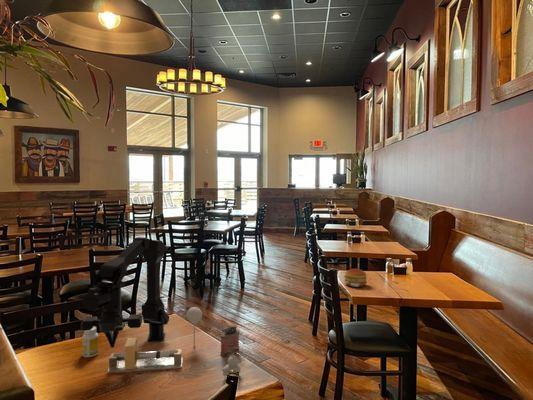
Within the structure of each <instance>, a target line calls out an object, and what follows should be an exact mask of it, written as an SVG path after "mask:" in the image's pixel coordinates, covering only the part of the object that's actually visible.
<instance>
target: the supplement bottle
mask: <svg viewBox="0 0 533 400" xmlns="http://www.w3.org/2000/svg"><path fill="white" fill-rule="evenodd" d="M97 331H98V330H97V326H93V328H92V329H91V330H85V331H83V332H84V334H83V335H82V337H81V338H82V339H81V341H82V343H81V345H82V349H81V350H82V351H81V352H82V356H83V357H84V358H92V357H95V356H97V355H98V354H99V333H98V332H97Z"/></svg>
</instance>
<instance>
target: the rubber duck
mask: <svg viewBox="0 0 533 400" xmlns="http://www.w3.org/2000/svg"><path fill="white" fill-rule="evenodd" d="M238 363H239V360H238V358H237V356H235V354H234V353H233V354H231V355H230V356H228V359H227V364H226V365H225V366H224V367H222V369H221V370H222V376H224V377H228V376H227V372H228V371H229V370H233V371H239V372H240V373H241V366H240V365H239V364H238Z"/></svg>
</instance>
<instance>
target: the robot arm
mask: <svg viewBox="0 0 533 400" xmlns="http://www.w3.org/2000/svg"><path fill="white" fill-rule="evenodd" d="M165 249H166V245H165V243H164V242H163V241H162V240H160V239H159V240H158V239H150V238H148V237H140V236H136V237H135V238H133V239H132V241H131V243H130V244H129V245H128V246H127V247H126V248H125V249H124V250H122V252H121V253H120V254H119V255H118V256H117V257H115V258H112V259H110V260H108V261H106V262H104V263H103V264H102V265H101V266H100V268H99V269H98V272H97V274H96V277H95V279H94V282H93V283H92V287H90V288H88V291H87V293H86V294H85V295H84V297H83V299H82V304H83V306H84V308H85V309H86V310H87V311H90V312H93V311H94V312H95V311H96V310H98V309H102V312H101V315H100V319H98V316H97V315H95V316H85V317H84V318H83V320H82V322H81V323H80V331H83V332H84V331H85V330H91V329H92V328H93V327H98V326H99V332H100V333H103V334H104V335H105V336H106V338H107V341H108V344H109V345H110V348H111V349H112V348H115V345H116V341H117V339H118V336H119V333H120V332H122V331H123V330H124V328H125V326H126V325H127V327H128V328H129V329H138V328H141V326H142V323H143V324H148V336H147V339H146V341H147V342H152V341H153V342H155V341H165V338H166V332H164V331H165V327H164V326H165V325H168V323H169V321H170V316H169V314H168V313H167V312H166V311H165V304H164V302H163V301H162V299H161V260H162V259H163V257H164V256H165ZM141 253H142V256H141V257H143V260H144V261H145V262H146V301H145V302H144V304H143V303H142V305H141V314H129V317H127V318H124V316H123V314H122V287H123V286H125V285H126V282H124V281H123V279H124V278H125V276H126V275H127V273H128V267H129V266H130V265H131V264H132V263H133V262H134V261H135V260H136V259H137V258H138V256H140V255H141Z"/></svg>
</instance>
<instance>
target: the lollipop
mask: <svg viewBox="0 0 533 400" xmlns="http://www.w3.org/2000/svg"><path fill="white" fill-rule="evenodd" d="M185 317H186V319H187V321H188V322H190V323H192V324H193V347H195V346H196V323H199V322H200V321H201V320H202V317H203V312H202V310H201V309H200V307H197V306H192V307H190V308H189V309H188V310H187V311H186V314H185Z"/></svg>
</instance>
